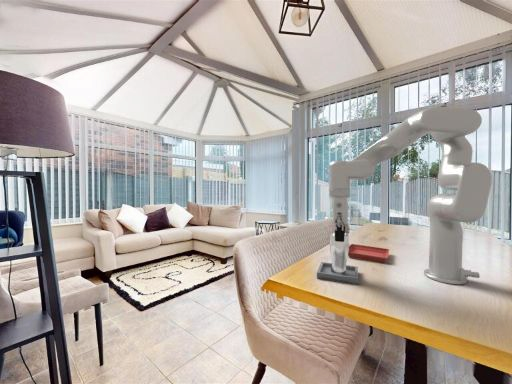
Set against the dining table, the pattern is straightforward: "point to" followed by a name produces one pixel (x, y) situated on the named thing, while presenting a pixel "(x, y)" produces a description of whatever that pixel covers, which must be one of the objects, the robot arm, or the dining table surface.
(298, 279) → the dining table surface
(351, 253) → the plant saucer
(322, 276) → the serving tray
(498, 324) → the dining table surface
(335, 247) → the beer glass
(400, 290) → the dining table surface
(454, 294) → the dining table surface
